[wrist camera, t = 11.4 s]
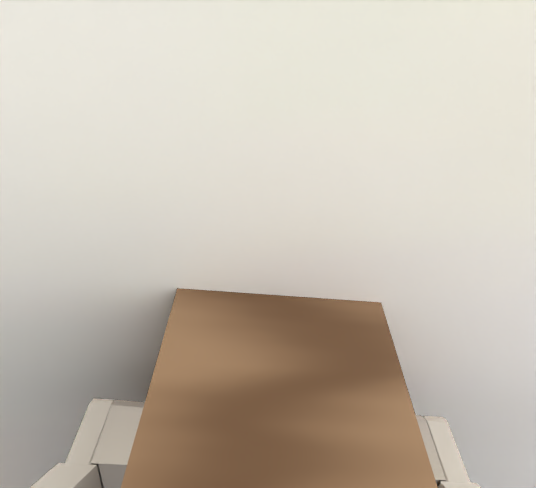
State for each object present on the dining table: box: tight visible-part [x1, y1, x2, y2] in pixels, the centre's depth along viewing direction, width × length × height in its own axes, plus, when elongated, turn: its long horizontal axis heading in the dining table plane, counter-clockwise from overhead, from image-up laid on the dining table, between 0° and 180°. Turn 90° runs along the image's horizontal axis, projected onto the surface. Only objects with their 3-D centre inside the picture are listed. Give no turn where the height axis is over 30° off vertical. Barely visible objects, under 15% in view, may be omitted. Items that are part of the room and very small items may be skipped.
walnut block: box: [121, 288, 438, 488], centre depth 11 cm, size 5×5×5 cm
